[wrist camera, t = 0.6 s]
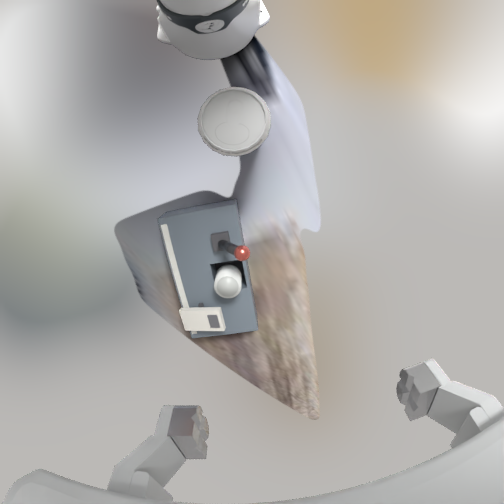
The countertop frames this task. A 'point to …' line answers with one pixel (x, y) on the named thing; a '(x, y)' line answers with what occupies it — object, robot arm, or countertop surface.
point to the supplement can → (234, 121)
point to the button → (228, 281)
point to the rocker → (202, 319)
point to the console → (208, 262)
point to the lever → (235, 250)
